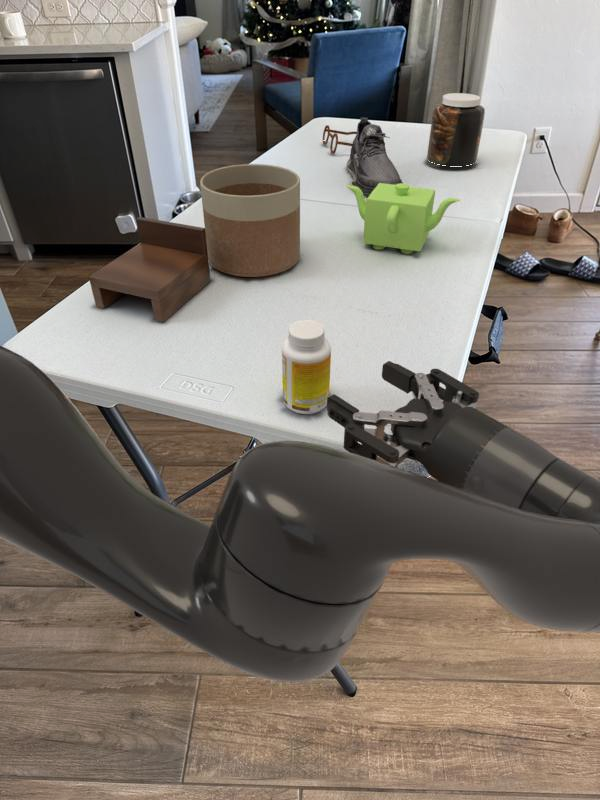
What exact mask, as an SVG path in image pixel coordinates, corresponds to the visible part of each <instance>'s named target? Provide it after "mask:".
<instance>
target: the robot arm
mask: <svg viewBox="0 0 600 800" xmlns="http://www.w3.org/2000/svg"><path fill="white" fill-rule="evenodd" d="M381 378H382V379H383V381H385V382H386V383H388V384H389V385H392V386H393V387H395V388H396V389H399V390H400V391H402V392H404V393H405V394H409V393H411V394H412V397H413V398H412V399H411V400H408V403H406V405H404V406H401V407H398V408H397V409H396V410H394V411H391V410H380V411H378V412H377V413H371V412H362V411H360V409H358V408H357V407H356V406H354V405H352V404H351V403H349V402H348V401H346V400H344V399H343V398H341V397H340V396H339V395H336V394H335V393H333V394H331V395H329V397H328V398H327V405H326V412H327V417H329V418H330V419H331V420H332V421H334V422H335V423H337V424H338V425H340V426H341V427H343V428H344V433H343V449H344V450H343V449H339V448H336V447H330V446H328V445H327V446H326V445H322V444H317V443H311V442H306V441H298V440H296V441H295V440H276V441H274V440H273V441H268V442H264V443H263V442H262V443H260V444H257V445H256V446H253V447H252V448H250V449H248V450H246V451H245V452H244V453H243V454H241V457H240V458H239V459H238V460H237V462H236V463H235V464H234V466H233V468H232V470H231V472H230V474H229V475H228V478H227V482H226V483H225V486H224V489H223V491H222V494H221V497H220V499H219V502H218V504H217V509H216V511H215V514H214V516H213V520H212V522H211V524H209V523H207V522H204V521H202V520H200V519H199V518H196V517H194V516H192V515H190V514H189V513H187V512H185V511H183V510H182V509H180V508H178V507H176V506H174V505H172V504H170V503H168V502H166V501H165V500H163V499H161V497H159V496H157V495H156V494H154V493H153V492H151V491H150V490H148V489H147V488H146V487H145V486H143V484H141V483H140V482H139V481H138V480H137V479H136V478H134V477H133V475H131V474H130V473H129V471H127V470H126V469H125V467H124V466H123V465H122V464H121V462H119V460H118V459H117V458H116V457H115V455H114V454H113V453H112V452H111V451H110V450H109V448H108V447H107V445H106V444H105V443H104V442H103V441H102V439H101V438H100V436H99V435H98V434H97V433H96V431H95V430H94V429H93V427H92V426H91V425H90V424H89V422H88V421H87V420H86V418H85V417H84V415H82V413H81V411H79V409H78V408H77V407H76V405H74V403H73V402H72V400H71V399H70V398H69V397H68V396H67V395H66V394H65V392H64V391H63V390H62V389H61V387H59V385H58V384H57V383H56V382H55V381H54V380H52V379H51V378H50V376H48V375H47V374H46V373H45V372H44V371H43V370H42V369H40V368H39V366H37V365H35V363H33V362H32V361H31V360H29V359H27V358H26V357H25V356H23V355H21V354H19V353H18V352H15V351H13V350H11V349H9V348H7V347H5V346H2V345H0V539H1V540H3V541H5V542H6V543H9V544H11V545H13V546H15V547H16V548H19V549H21V550H23V551H25V552H27V553H29V554H31V555H32V556H34V557H37V558H39V559H40V560H43V561H45V562H47V563H49V564H51V565H53V566H56V567H57V568H60V569H61V570H63V571H66V572H67V573H69V574H71V575H72V576H75V577H77V578H79V579H80V580H82V581H84V582H86V583H88V584H89V585H91V586H93V587H94V588H96V589H98V590H99V591H101V592H103V593H105V594H106V595H108V596H110V597H112V598H113V599H115V600H117V601H118V602H119V603H121V604H124V605H125V606H127V607H128V608H130V609H132V610H133V611H135V612H137V613H138V614H140V615H141V616H143V617H145V618H147V619H148V620H150V621H151V622H153V623H155V624H156V625H158V626H160V627H161V628H163V629H165V630H167V631H168V632H170V633H171V634H173V635H174V636H176V637H178V638H180V639H181V640H183V641H185V642H186V643H188V644H190V645H191V646H193V647H195V649H198V650H200V651H201V652H204V653H206V654H208V655H209V656H211V657H213V658H214V659H217V660H218V661H221V663H224V664H226V665H228V666H230V667H232V668H235V669H236V670H240V671H241V672H244V673H247V674H249V675H252V676H254V677H255V676H256V677H258V678H262V679H266V680H271V681H275V682H282V683H303V682H307V681H312V680H314V679H318V678H321V677H322V676H324V675H327V673H329V672H331V671H332V670H334V668H335V667H336V666H337V665H338V663H339V662H341V660H342V659H343V657H344V656H345V654H346V652H348V649H349V647H350V646H351V644H352V642H353V641H354V638H355V637H356V636H357V633H358V632H359V629H360V628H361V626H362V625H363V622H364V620H365V618H366V616H367V615H368V613H369V611H370V609H371V607H372V606H373V603H374V602H375V600H376V598H377V596H378V594H379V593H380V591H381V589H382V586H383V585H384V582H385V580H386V578H387V576H388V574H389V572H390V570H391V568H392V566H393V564H394V563H397V562H403V561H411V560H439V561H448V562H451V563H453V564H455V565H457V566H458V568H461V569H462V570H463V571H465V573H466V574H468V575H469V577H470V578H472V579H473V580H474V581H475V582H476V584H478V585H479V587H480V588H481V589H482V590H483V591H484V592H485V593H486V595H487V596H489V597H490V598H491V600H493V601H494V602H495V603H496V604H497V605H499V606H500V607H501V608H502V609H503V610H505V611H506V612H508V613H509V614H510V615H512V616H514V617H515V618H517V619H519V620H521V621H523V622H525V623H527V624H530V625H533V626H534V627H535V626H536V627H539V628H544V629H547V630H552V631H558V632H559V631H560V632H572V633H573V632H575V633H576V632H579V633H600V480H599V478H597V477H594V476H592V475H591V474H589V473H587V472H585V471H584V470H582V469H580V468H578V467H577V466H575V465H573V464H571V463H569V462H567V461H566V460H564V459H561V458H560V457H558V456H557V455H555V454H554V453H552V452H551V451H549V450H548V449H546V448H545V446H543V445H541V444H540V443H538V442H537V441H535V440H534V439H532V438H530V437H528V436H526V435H524V434H523V433H521V432H519V431H517V430H515V429H513V428H512V427H510V426H508V425H506V424H504V423H503V422H500V421H499V420H497V419H495V418H493V417H492V416H490V415H488V414H486V413H484V412H482V411H481V410H479V409H477V406H478V402H479V397H480V393H479V391H477V390H476V389H474V388H472V387H470V385H467V384H466V383H464V382H462V381H460V380H459V379H457V378H455V377H454V376H452V375H450V374H449V373H447V372H445V371H443V370H442V369H440V368H431V369H430V371H429V373H423V372H414V371H412V370H410V369H408V368H406V367H404V366H403V365H401V364H399V363H395V362H392V361H390V360H388V361H386V362H385V363H383V364H382V369H381ZM440 384H442V385H444V387H445V388H444V387H442V386H441V385H440ZM366 425H367V426H375V428H368V427H365V426H366ZM387 425H390V431H391V434H388V433H386V432H385V429H386V426H387ZM406 459H407V460H413V461H416V462H418V463H419V464H420V465H422V467H423V468H424V470H425V471H426V473H427V474H428V475H429V476H430V477H428V476H425V475H421V474H418V473H415V472H412V471H409V470H406V469H403V468H400V467H398V466H399V465H400V464H401V463H403V462H404V461H405V460H406Z"/></svg>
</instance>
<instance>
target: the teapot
mask: <svg viewBox="0 0 600 800" xmlns="http://www.w3.org/2000/svg"><path fill="white" fill-rule="evenodd" d="M345 187H346V188H347V189H349V190H351V191H352V194H354V196H355V199H356V204H357V208H358V213H359V216H360V217H361V219H362V220H363V221H364V222H363V223H364V224H363V234H362V235H363V237H362V244H366V245H373V246H372V248H373V249H375V250H379V251H380V250H385V248H393V249H400V253H402V254H406V255H410V254H412V253H413V252H421V251H422V248H423V246H424V245H425V242H426V240H427V238H428V236H429V235H430V232H431V231H433V230H434V229H435V228H436V227H437V226H438V225H439V224H440V222H441V221H442V219H443V217H444V215H445V212H446V211H447V209H448V208H449V206H451V205H453V204H454V203H457V202H460V201H461V199H460V198H455V197H450V198H445V199H443V200H442V202H440V204H439V206H438V208H437V210H436V211H435V212H434V213H433V209H434V203H435V197H436V196H435V195H436V189H433V188H425V187H417V186H410V185H409V184H408V183H404V182H403V183H399V184H396V185H392V184H384V183H379V184H378V185H377V186H376V188H375V189H374V190H373V191H372V193H371V194H370V195H369V194H368V197H367V198H366V197H365V194H363V192H362V191H361V189H360V188H358V187H356V186H353V185H346V186H345ZM365 198H366V199H365Z"/></svg>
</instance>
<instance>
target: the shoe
mask: <svg viewBox="0 0 600 800" xmlns="http://www.w3.org/2000/svg"><path fill="white" fill-rule="evenodd" d="M356 132H357V134H355V137H354V139H353V141H352V144H353V145H352V146H351V148H350V155H349V159H348V160H347V163H346V169H347V171H348V172H349V173H350V175H351V177H352V181H351V185H352V186H356V187H358V188H360V189H361V191H362V192H363V195H368V196H369V195H370V194H371V193H372V191H373V190H374V189H375V188H376V186H377V185H378V184H379V183H384V184H392V185H396V184H399V183H404V182H403V181H402V179H401V176H400V174H399V171H398V170H397V168H396V167H395V165H394V163H393V162H392V160H391V159H390V158H389V156H388V154H387V150H386V143H385V139H384V138H388V139H391V137H390V136H387V133H385V132H383V130H382V128H381V126H380V125H378V124H373V123H372V122H371V121H369V117H360V120H359V122H358V123H357V128H356Z"/></svg>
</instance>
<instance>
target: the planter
mask: <svg viewBox="0 0 600 800" xmlns="http://www.w3.org/2000/svg"><path fill="white" fill-rule="evenodd" d="M199 183H200V184H199V186H200V193H201V194H200V196H201V204H202V205H201V206H202V214H203V223H204V224H203V225H204V228H205V232H206V242H207V251H208V252H207V253H208V262H209V265H211V266H212V268H214V269H216V270H217V271H219V272H222V273H224V274H227V275H231V276H235V277H243V278H259V277H267V276H272V275H277V274H280V273H283V272H285V271H288V270H289V269H292V268H293V267H294V266H295V265H296V264H297V263H298V262H299V260H300V257H301V177H300V176H299V175H298V174H297V172H295V171H293V170H292V169H289V168H286V167H282V166H278V165H273V164H263V163H244V164H234V165H233V164H232V165H227V166H223V167H218V168H215V169H213V170H210V171H208V172H207V173H205V174H204V175H202V177H201V178H200V181H199Z"/></svg>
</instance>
